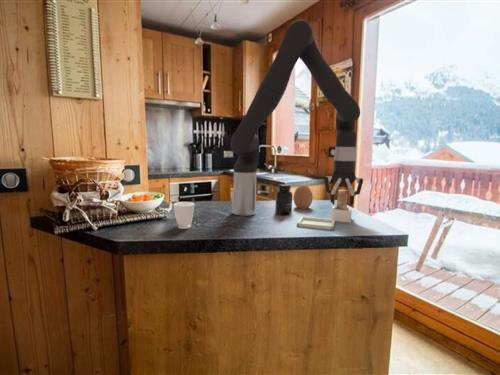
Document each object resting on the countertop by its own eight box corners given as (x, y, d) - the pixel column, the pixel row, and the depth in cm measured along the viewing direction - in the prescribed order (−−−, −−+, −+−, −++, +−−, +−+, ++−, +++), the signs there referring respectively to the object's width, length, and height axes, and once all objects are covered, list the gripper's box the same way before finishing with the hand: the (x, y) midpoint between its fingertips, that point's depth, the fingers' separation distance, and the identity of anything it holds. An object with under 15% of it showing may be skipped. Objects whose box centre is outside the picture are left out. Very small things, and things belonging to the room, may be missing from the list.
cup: (172, 230, 96) (172, 206, 95) (175, 222, 106) (175, 200, 105) (194, 229, 97) (194, 205, 96) (195, 221, 107) (195, 199, 106)
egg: (300, 206, 136) (301, 182, 134) (315, 209, 130) (316, 184, 128) (289, 209, 130) (290, 184, 128) (305, 212, 124) (306, 186, 123)
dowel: (335, 219, 110) (337, 190, 108) (336, 217, 113) (338, 189, 112) (345, 220, 109) (348, 191, 107) (346, 218, 112) (348, 190, 110)
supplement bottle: (291, 216, 118) (292, 186, 116) (274, 215, 119) (275, 185, 118) (292, 212, 125) (293, 184, 123) (276, 211, 126) (276, 183, 124)
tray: (296, 228, 100) (296, 222, 100) (301, 221, 110) (301, 216, 109) (333, 232, 97) (333, 226, 96) (334, 224, 106) (334, 219, 106)
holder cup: (330, 222, 109) (331, 209, 108) (331, 218, 115) (332, 205, 115) (350, 224, 107) (351, 211, 106) (350, 220, 113) (351, 207, 112)
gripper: (323, 159, 106) (321, 205, 109) (366, 160, 102) (362, 208, 104) (325, 158, 113) (323, 201, 116) (365, 159, 109) (362, 204, 111)
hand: (341, 204), depth 110 cm, fingers open, 5 cm apart
